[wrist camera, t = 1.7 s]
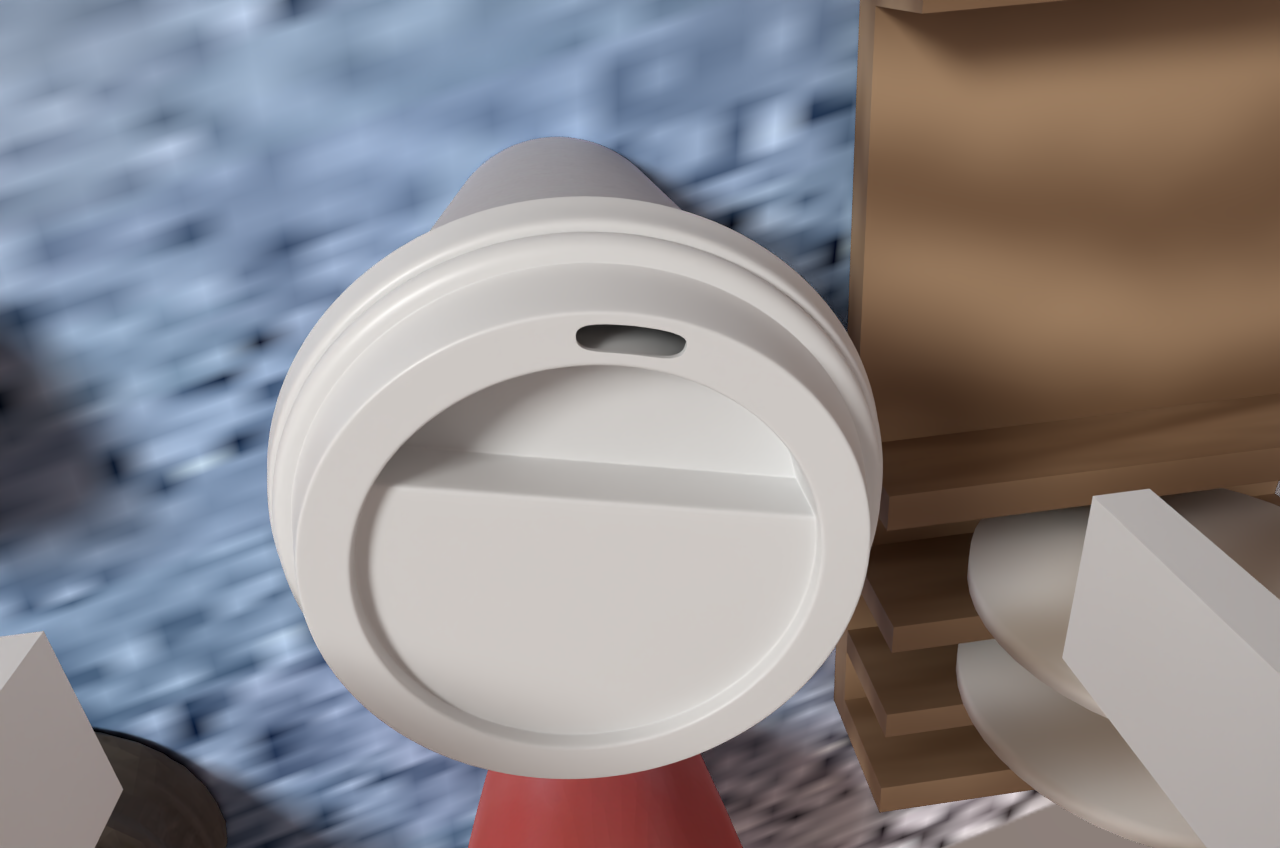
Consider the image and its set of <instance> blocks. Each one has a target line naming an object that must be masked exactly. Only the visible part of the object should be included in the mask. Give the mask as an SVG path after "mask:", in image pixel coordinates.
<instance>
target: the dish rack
mask: <svg viewBox="0 0 1280 848" xmlns="http://www.w3.org/2000/svg"><path fill="white" fill-rule="evenodd" d="M848 335H849V337H850V339H851V341H852V342H853V344H854V346H855V348H856V350H857V352H858V354H859V356H860V359H861V361H862V363H863V366H864V368H865V371H866V374H867V377H868V380H869V383H870V386H871V389H872V393H873V397H874V402H875V406H876V411H877V417H878V422H879V428H880V435H881V443H882V456H883V478H882V491H881V500H880V510H879V516H878V522H877V527H876V532H875V536H874V539H873V543H872V546H871V550H870V556H869V563H868V568H867V573H866V578H865V582H864V586H863V589H862V592H861V595H860V598H859V601H858V604H857V606H856V608H855V611H854V613H853V615H852V618H851V620H850V622H849V624H848V626H847V628H846V630H845V631H844V633H843V635H842V637H841V638H840V640H839V642H838V643H837V645H836V658H835V685H834V701H835V704H836V706H837V709H838V711H839V714H840V716H841V719H842V721H843V723H844V726H845V728H846V731H847V733H848V736H849V738H850V741H851V743H852V746H853V748H854V751H855V753H856V756H857V758H858V760H859V763H860V765H861V768H862V770H863V773H864V775H865V778H866V780H867V783H868V785H869V788H870V790H871V793H872V795H873V798H874V800H875V802H876V805H877V807H878V810H879V812H886V811H892V810H899V809H906V808H913V807H920V806H926V805H933V804H940V803H947V802H953V801H960V800H967V799H974V798H980V797H987V796H994V795H1001V794H1007V793H1014V792H1021V791H1028V790H1036V791H1038V792H1039V793H1040V794H1041V795H1043V796H1044V797H1046V798H1048V799H1049V800H1051V801H1052V802H1054V803H1055V804H1057V805H1059V806H1060V807H1062V808H1063V809H1065V810H1066V811H1068V812H1070V813H1072V814H1074V815H1076V816H1078V817H1079V818H1081V819H1083V820H1085V821H1087V822H1089V823H1091V824H1093V825H1095V826H1097V827H1099V828H1101V829H1104V830H1106V831H1108V832H1111V833H1113V834H1115V835H1118V836H1120V837H1123V838H1125V839H1127V840H1131V841H1134V842H1137V843H1140V844H1143V845H1146V846H1149V847H1152V848H1206V846H1205V845H1204V844H1203V842H1202V841H1201V840H1200V838H1199V837H1198V836H1197V834H1196V833H1195V832H1194V831H1193V829H1192V828H1191V827H1190V825H1189V824H1188V823H1187V821H1186V820H1185V819H1184V817H1183V816H1182V815H1181V813H1180V812H1179V811H1178V809H1177V808H1176V807H1175V806H1174V804H1173V803H1172V802H1171V800H1170V799H1169V798H1168V796H1167V795H1166V794H1165V792H1164V791H1163V790H1162V788H1161V787H1160V786H1159V785H1158V783H1157V782H1156V781H1155V779H1154V778H1153V777H1152V775H1151V774H1150V773H1149V771H1148V770H1147V769H1146V767H1145V766H1144V765H1143V764H1142V762H1141V761H1140V760H1139V758H1138V757H1137V756H1136V754H1135V753H1134V752H1133V750H1132V749H1131V748H1130V746H1129V745H1128V744H1127V742H1126V741H1125V740H1124V739H1123V737H1122V736H1121V735H1120V733H1119V732H1118V731H1117V729H1116V728H1115V727H1114V725H1113V724H1112V723H1111V721H1110V720H1109V719H1108V718H1107V716H1106V715H1105V714H1104V712H1103V711H1102V710H1101V708H1100V707H1099V706H1098V704H1097V703H1096V702H1095V700H1094V699H1093V698H1092V697H1091V695H1090V694H1089V693H1088V691H1087V690H1086V689H1085V687H1084V686H1083V685H1082V683H1081V682H1080V681H1079V679H1078V678H1077V677H1076V676H1075V674H1074V673H1073V672H1072V670H1071V669H1070V668H1069V666H1068V665H1067V664H1066V662H1065V661H1064V660H1063V658H1062V656H1063V651H1064V646H1065V640H1066V635H1067V630H1068V625H1069V619H1070V614H1071V609H1072V603H1073V598H1074V593H1075V588H1076V582H1077V577H1078V572H1079V567H1080V561H1081V556H1082V551H1083V545H1084V540H1085V535H1086V530H1087V524H1088V519H1089V514H1090V509H1091V503H1092V498H1093V496H1096V495H1104V494H1112V493H1120V492H1128V491H1135V490H1143V489H1151V490H1152V491H1153V492H1154V493H1155V494H1157V495H1158V496H1159V497H1160V498H1161V499H1162V500H1164V501H1165V502H1166V503H1167V504H1168V505H1169V506H1171V507H1172V508H1173V509H1174V510H1175V511H1176V512H1178V513H1179V514H1180V515H1181V516H1182V517H1183V518H1185V519H1186V520H1187V521H1188V522H1189V523H1190V524H1192V525H1193V526H1194V527H1195V528H1196V529H1197V530H1199V531H1200V532H1201V533H1202V534H1203V535H1204V536H1206V537H1207V538H1208V539H1209V540H1210V541H1211V542H1213V543H1214V544H1215V545H1216V546H1217V547H1218V548H1220V549H1221V550H1222V551H1223V552H1224V553H1225V554H1227V555H1228V556H1229V557H1230V558H1231V559H1233V560H1234V561H1235V562H1236V563H1237V564H1238V565H1240V566H1241V567H1242V568H1243V569H1244V570H1245V571H1247V572H1248V573H1249V574H1250V575H1251V576H1252V577H1254V578H1255V579H1256V580H1257V581H1258V582H1259V583H1261V584H1262V585H1263V586H1264V587H1265V588H1266V589H1268V590H1269V591H1270V592H1271V593H1272V594H1273V595H1275V596H1276V597H1277V598H1278V599H1279V600H1280V497H1279V496H1277V495H1276V494H1275V490H1276V487H1277V484H1278V481H1280V0H860V14H859V40H858V67H857V94H856V121H855V148H854V175H853V201H852V228H851V255H850V282H849V309H848Z"/></svg>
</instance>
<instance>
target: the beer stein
mask: <svg viewBox="0 0 1280 848" xmlns="http://www.w3.org/2000/svg"><path fill="white" fill-rule="evenodd" d="M95 734H96V736H97V738H98V740H99V742H100V744H101V746H102V748H103V750H104V752H105V754H106V756H107V758H108V760H109V762H110V764H111V766H112V768H113V770H114V772H115V774H116V776H117V778H118V780H119V782H120V784H121V786H122V788H123V791H122V793H121V795H120V797H119V799H118V801H117V803H116V805H115V807H114V809H113V811H112V813H111V815H110V817H109V819H108V822H107V824H106V826H105V828H104V830H103V832H102V834H101V836H100V838H99V840H98V842H97V844H96V846H95V848H226V845H227V832H226V822H225V820H224V818H223V815H222V813H221V811H220V809H219V807H218V805H217V803H216V801H215V799H214V798H213V796H212V795H211V794H210V792H209V791H208V789H207V788H206V787H205V785H204V784H203V783H202V782H201V781H199V780H198V779H197V778H196V777H195V776H194V775H193V774H192V773H191V772H190V771H189V770H188V769H187V768H185V767H184V766H183V765H181V764H179V763H177V762H175V761H174V760H172V759H170V758H169V757H167V756H166V755H165V754H163V753H161V752H159V751H157V750H154V749H152V748H150V747H147V746H145V745H143V744H141V743H138V742H135V741H131V740H127V739H123V738H119V737H116V736H112V735H108V734H104V733H100V732H95Z"/></svg>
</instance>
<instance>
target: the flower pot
mask: <svg viewBox="0 0 1280 848" xmlns="http://www.w3.org/2000/svg"><path fill="white" fill-rule="evenodd" d="M468 848H743V847H742V845H741V843H740V840H739V838H738V836H737V834H736V831H735V829H734V827H733V824H732V822H731V820H730V817H729V815H728V813H727V811H726V809H725V806H724V804H723V802H722V800H721V797H720V795H719V793H718V791H717V789H716V787H715V785H714V782H713V780H712V778H711V776H710V774H709V772H708V770H707V767H706V765H705V763H704V761H703V759H702V756H701V754H697V755H695V756H692V757H690V758H687V759H684V760H681V761H678V762H675V763H672V764H668V765H665V766H661V767H658V768H654V769H650V770H645V771H641V772H636V773H630V774H625V775H618V776H610V777H601V778H588V779H548V778H535V777H525V776H518V775H512V774H506V773H501V772H496V771H491V770H488V772H487V776H486V779H485V783H484V787H483V790H482V794H481V798H480V801H479V805H478V809H477V813H476V817H475V821H474V825H473V829H472V834H471V838H470V842H469V846H468Z"/></svg>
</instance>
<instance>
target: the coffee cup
mask: <svg viewBox="0 0 1280 848" xmlns="http://www.w3.org/2000/svg"><path fill="white" fill-rule="evenodd" d="M882 478H883V456H882V443H881V435H880V428H879V422H878V417H877V411H876V406H875V402H874V397H873V393H872V389H871V386H870V383H869V380H868V377H867V374H866V371H865V368H864V366H863V363H862V361H861V359H860V356H859V354H858V352H857V350H856V348H855V346H854V344H853V342H852V341H851V339H850V337H849V335H848V333H847V332H846V330H845V329H844V327H843V325H842V324H841V322H840V321H839V319H838V318H837V317H836V315H835V314H834V312H833V311H832V310H831V308H830V307H829V306H828V305H827V303H826V302H825V301H824V300H823V299H822V298H821V296H820V295H819V294H818V293H817V292H816V291H815V290H814V289H813V288H812V287H811V286H810V285H809V283H807V282H806V281H805V280H804V279H803V278H802V277H801V276H800V275H799V274H798V273H797V272H796V271H794V270H793V269H792V268H791V267H790V266H789V265H787V264H786V263H785V262H783V261H782V260H781V259H780V258H778V257H777V256H775V255H774V254H773V253H771V252H770V251H768V250H767V249H765V248H764V247H762V246H761V245H759V244H757V243H756V242H754V241H752V240H751V239H749V238H747V237H745V236H744V235H742V234H740V233H738V232H736V231H734V230H732V229H730V228H728V227H725V226H723V225H721V224H719V223H717V222H714V221H712V220H709V219H706V218H704V217H701V216H698V215H695V214H692V213H690V212H686V211H683V210H681V209H680V208H679V207H678V206H677V205H676V204H675V203H674V202H673V201H672V200H671V199H670V198H669V197H668V196H666V195H665V194H664V193H663V192H662V191H661V190H660V189H659V188H658V187H657V186H656V185H655V184H654V183H653V182H652V181H651V180H650V179H649V178H648V177H647V176H645V175H644V174H643V173H642V172H641V171H640V170H639V169H638V168H637V167H636V166H635V165H633V164H632V163H631V162H630V161H628V160H627V159H626V158H624V157H623V156H621V155H620V154H618V153H616V152H614V151H612V150H611V149H608V148H606V147H604V146H602V145H599V144H596V143H593V142H590V141H586V140H582V139H577V138H569V137H546V138H538V139H533V140H529V141H525V142H522V143H519V144H516V145H514V146H511V147H509V148H507V149H505V150H503V151H501V152H499V153H498V154H496V155H494V156H493V157H491V158H490V159H489V160H487V161H486V162H485V163H484V164H482V165H481V166H480V167H479V168H478V169H477V170H476V171H475V172H474V173H473V174H472V175H471V176H470V177H469V179H468V180H467V181H466V182H465V184H464V185H463V186H462V188H461V189H460V190H459V192H458V193H457V194H456V196H455V197H454V199H453V200H452V201H451V203H450V204H449V205H448V207H447V208H446V209H445V211H444V212H443V214H442V215H441V216H440V218H439V219H438V220H437V222H436V223H435V224H434V226H433V227H432V228H431V230H430V231H429V232H427V233H425V234H423V235H421V236H419V237H417V238H416V239H414V240H412V241H410V242H408V243H407V244H405V245H403V246H402V247H400V248H398V249H397V250H395V251H394V252H392V253H391V254H389V255H388V256H386V257H385V258H383V259H382V260H381V261H379V262H378V263H377V264H375V265H374V266H373V267H371V268H370V269H369V270H367V271H366V272H365V273H364V274H363V275H361V276H360V277H359V278H358V279H357V280H356V281H355V282H354V283H352V284H351V285H350V286H349V287H348V288H347V289H346V290H345V291H344V292H343V293H342V294H341V295H340V296H339V297H338V298H337V299H336V300H335V301H334V303H333V304H332V305H331V306H330V307H329V308H328V309H327V311H326V312H325V313H324V314H323V316H322V317H321V318H320V319H319V321H318V322H317V323H316V325H315V326H314V328H313V329H312V330H311V332H310V333H309V335H308V336H307V338H306V339H305V341H304V343H303V344H302V346H301V348H300V349H299V351H298V353H297V355H296V357H295V358H294V360H293V362H292V364H291V366H290V369H289V371H288V373H287V375H286V378H285V380H284V383H283V385H282V388H281V391H280V394H279V397H278V400H277V403H276V407H275V410H274V414H273V419H272V424H271V429H270V436H269V444H268V456H267V493H268V507H269V515H270V522H271V528H272V533H273V537H274V541H275V545H276V548H277V552H278V555H279V558H280V561H281V564H282V567H283V570H284V573H285V576H286V579H287V581H288V584H289V586H290V589H291V591H292V593H293V595H294V597H295V599H296V601H297V603H298V605H299V607H300V609H301V610H302V612H303V614H304V617H305V619H306V622H307V625H308V627H309V630H310V632H311V635H312V637H313V639H314V641H315V643H316V645H317V647H318V649H319V651H320V652H321V654H322V656H323V657H324V659H325V661H326V662H327V664H328V665H329V667H330V668H331V670H332V671H333V672H334V674H335V675H336V677H337V678H338V679H339V680H340V681H341V683H342V684H343V685H344V686H345V687H346V689H347V690H348V691H349V692H350V693H351V694H352V695H353V696H354V697H355V698H356V699H357V700H358V701H359V702H360V703H361V704H362V705H363V706H364V707H365V708H367V709H368V710H369V711H370V712H371V713H372V714H374V715H375V716H376V717H377V718H379V719H380V720H381V721H383V722H384V723H385V724H387V725H388V726H389V727H391V728H392V729H394V730H395V731H397V732H399V733H400V734H402V735H403V736H405V737H407V738H409V739H410V740H412V741H414V742H416V743H418V744H420V745H422V746H423V747H425V748H428V749H430V750H432V751H434V752H436V753H439V754H441V755H443V756H446V757H449V758H451V759H454V760H457V761H460V762H463V763H466V764H469V765H472V766H475V767H479V768H483V769H487V770H491V771H496V772H501V773H506V774H512V775H518V776H525V777H535V778H548V779H588V778H601V777H610V776H618V775H625V774H630V773H636V772H641V771H645V770H650V769H654V768H658V767H661V766H665V765H668V764H672V763H675V762H678V761H681V760H684V759H687V758H690V757H692V756H695V755H697V754H700V753H702V752H705V751H707V750H709V749H712V748H714V747H716V746H718V745H720V744H722V743H724V742H726V741H728V740H730V739H732V738H734V737H736V736H737V735H739V734H741V733H743V732H744V731H746V730H748V729H749V728H751V727H753V726H754V725H756V724H757V723H759V722H760V721H762V720H763V719H765V718H766V717H767V716H769V715H770V714H771V713H773V712H774V711H775V710H777V709H778V708H779V707H780V706H782V705H783V704H784V703H785V702H786V701H788V700H789V699H790V698H791V697H792V696H793V695H794V694H795V693H796V692H798V691H799V690H800V689H801V688H802V687H803V686H804V685H805V684H806V683H807V682H808V680H809V679H810V678H811V677H812V676H813V675H814V674H815V673H816V672H817V670H818V669H819V668H820V667H821V666H822V664H823V663H824V662H825V660H826V659H827V658H828V656H829V655H830V654H831V652H832V651H833V649H834V648H835V646H836V645H837V643H838V642H839V640H840V638H841V637H842V635H843V633H844V631H845V630H846V628H847V626H848V624H849V622H850V620H851V618H852V615H853V613H854V611H855V608H856V606H857V604H858V601H859V598H860V595H861V592H862V589H863V586H864V582H865V578H866V573H867V568H868V563H869V556H870V550H871V546H872V543H873V539H874V536H875V532H876V527H877V522H878V516H879V510H880V500H881V491H882Z"/></svg>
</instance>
